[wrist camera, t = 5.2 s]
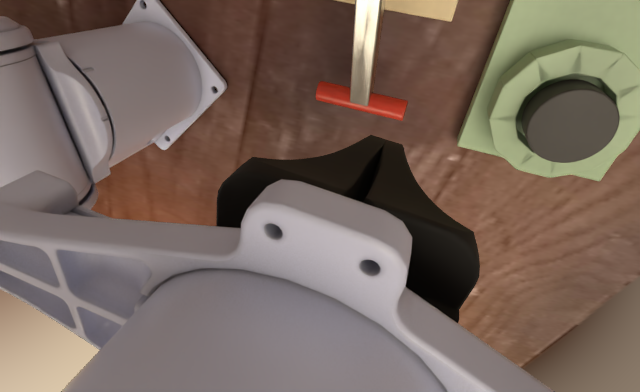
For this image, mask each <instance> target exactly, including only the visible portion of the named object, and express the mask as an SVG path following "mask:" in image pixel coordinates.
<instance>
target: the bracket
mask: <svg viewBox="0 0 640 392" xmlns="http://www.w3.org/2000/svg"><path fill="white" fill-rule="evenodd" d="M335 1H340V2H346V3H351V4H355V0H335ZM457 3H458V0H386V1H385V8H384V10H389V11H394V12H400V13H405V14H411V15H416V16H421V17H427V18H432V19H438V20H443V21H449V22H451V21H452V19H453V16H454V12H455V9H456V6H457Z"/></svg>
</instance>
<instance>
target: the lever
mask: <svg viewBox="0 0 640 392" xmlns="http://www.w3.org/2000/svg"><path fill="white" fill-rule="evenodd" d="M385 1H386V0H355V12H354V30H353V48H352V66H351V83H350V87H345V86H341V85H337V84H332V83H328V82H324V81H320V82H319V84H318V87H317V90H316V99H317V100H319V101H323V102H327V103H331V104H335V105H339V106H343V107H347V108H351V109H356V110H360V111H364V112H368V113H372V114H376V115H380V116H384V117H389V118H393V119H397V120H401V121H402V120H403V117H404V114H405V111H406V107H407V103H408V101H406V100H402V99H397V98H393V97H389V96H384V95H380V94H376V93H373V90H374V83H375V75H376V68H377V60H378V53H379V45H380V38H381V31H382V23H383V16H384V8H385Z"/></svg>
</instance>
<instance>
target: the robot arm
mask: <svg viewBox="0 0 640 392" xmlns="http://www.w3.org/2000/svg"><path fill="white" fill-rule="evenodd" d="M144 1H145V3H146V7H145V5H144ZM214 86H215V87H216V88H217V89H218V92H217V91H215V89H214ZM226 89H227V83H226V81H225V80H224V79H223V77H222V76H221V75H220V74H219V73H218V71H217V70H216V69H215V68H214V67H213V65H212V64H211V63H210V62H209V60H208V59H207V58H206V57H205V56H204V54H203V53H202V52H201V51H200V49H199V48H198V47H197V46H196V45H195V43H194V42H193V41H192V40H191V39H190V37H189V36H188V35H187V34H186V32H185V31H184V30H183V29H182V28H181V26H180V25H179V24H178V23H177V21H176V20H175V19H174V18H173V17H172V15H171V14H170V13H169V12H168V11H167V9H166V8H165V7H164V6H163V4H162V3H161V2H160V1H159V0H137V1H136V2H135V4H134V6H133V7H132V9H131V11H130V12H129V14H128V15H127V17H126V19H125V20H124V22H123V24H122V25H118V26H112V27H107V28H101V29H95V30H89V31H83V32H77V33H72V34H66V35H60V36H54V37H48V38H42V39H37V40H34V39H33V36H32V34H31V32H30V30H29V28H27V27H25V26H22V25H19V24H18V23H17V22H15V21H13V20H11V19H10V18H8V17H4V16H0V289H1V290H3V291H5V292H7V293H9V294H11V295H13V296H14V297H16V298H18V299H20V300H22V301H23V302H25V303H27V304H29V305H30V306H32V307H34V308H35V309H37V310H39V311H40V312H42V313H43V314H45V315H47V316H48V317H50V318H51V319H53V320H55V321H56V322H58V323H59V324H61V325H62V326H64V327H65V328H67V329H68V330H70V331H71V332H73V333H74V334H76V335H78V336H79V337H81V338H82V339H84V340H85V341H87V342H88V343H90V344H91V345H93V346H94V347H96V348H97V349H99V350H100V351H99V352H98V353H97V354H96V355H95V356H94V357H93V358H92V359H91V360H90V361H89V362H88V363H87V364H86V366H85V367H84V368H83V369H82V370H81V371H80V372H79V373H78V374H77V375H76V376H75V377H74V378H73V379H72V380H71V382H69V384H68V385H67V386H66V387H65V388H64V389H63V390H62V391H61V392H555V391H553V390H552V389H550V388H549V387H547V386H546V385H545V384H543V383H542V382H540V381H539V380H538V379H536V378H535V377H533V376H532V375H530V374H529V373H528V372H526V371H524V370H523V369H522V368H520V367H519V366H518V365H516V364H515V363H513V362H512V361H510V360H509V359H508V358H506V357H505V356H503V355H502V354H501V353H499V352H498V351H496V350H495V349H493V348H492V347H491V346H489V345H488V344H486V343H485V342H483V341H482V340H481V339H479V338H478V337H476V336H475V335H473V334H472V333H471V332H469V331H468V330H466V329H465V328H464V327H462V326H461V325H459V324H458V321H459V309H460V307H461V306H462V304H463V303H464V301H465V300H466V298H467V297H468V295H469V294H470V292H471V291H472V289H473V288H474V286H475V285H476V282H477V280H478V278H479V268H480V263H479V253H478V248H477V244H476V240H475V236H474V232H473V231H471V230H469V229H468V228H466V227H464V226H463V225H461V224H460V223H458V222H456V221H455V220H453V219H452V218H451V217H449V216H448V215H447V214H446V213H444V212H443V211H442V210H441V209H440V208H438V207H437V206H436V205H435V204H434V203H433V202H432V201H431V200H430V199H429V198H428V196H427V195H426V194H425V193H424V192H423V190H422V189H421V187H420V186H419V185H418V183H417V182H416V180H415V178H414V176H413V174H412V172H411V170H410V167H409V165H408V162H407V159H406V156H405V152H404V148H403V145H401V144H398V143H395V142H392V141H389V140H385V139H382V138H379V137H376V136H373V135H370V136H368V137H366V138H364V139H362V140H361V141H359V142H357V143H355V144H353V145H351V146H349V147H347V148H345V149H342V150H340V151H337V152H335V153H331V154H328V155H324V156H320V157H315V158H307V159H298V160H276V159H266V158H257V157H252V158H251V159H249V160H248V161H247V162H245V163H244V164H243V165H242V166H240V167H239V168H238V169H237V170H236V171H235V172H234V173H233V174H232V175H231V176H230V177H228V178H227V179H226V180H225V181H224V182H223V184H222V185H221V187H220V189H219V191H218V197H217V226H205V225H192V224H179V223H165V222H152V221H139V220H126V219H112V218H110V217H107V216H105V215H102V214H100V213H97V212H94V211H92V210H91V208H92V207H93V206H94V204H95V203H96V201H97V199H98V190H97V188H96V185H95V183H97V182H98V181H100V180H102V179H103V178H105V177H107V176H108V175H110V174H111V173H110V169H109V168H110V167H112V166H114V165H116V164H117V163H119V162H121V161H122V160H124V159H126V158H128V157H129V156H131V155H133V154H135V153H136V152H138V151H140V150H142V149H143V148H145V147H147V146H149V145H150V144H152V143H154V142H155V143H156V144H157V146H158V147H159V148H161V149H162V150H166V149H167V148H169V147H170V146H171V145H172V144H173V143H174V142H175V141H176V140H177V139H178V138H179V137H180V136H181V135H182V134H183V133H184V132H185V131H186V130H187V129H188V128H189V127H190V126H191V125H192V124H193V123H194V122H195V121H196V120H197V119H198V118H199V117H200V116H201V115H202V114H203V113H204V112H205V111H206V110H207V109H208V108H209V107H210V106H211V105H212V104H213V103H214V102H215V101H216V100H217V99H218V98H219V97H220V96H221V95H222V94H223V93H224V92H225V91H226ZM168 137H169V138H170V139H169V138H168Z"/></svg>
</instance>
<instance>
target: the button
mask: <svg viewBox="0 0 640 392" xmlns="http://www.w3.org/2000/svg"><path fill="white" fill-rule="evenodd" d="M619 120H620V116H619V111H618V108H617V106H616V104H615V102H614V101H613V100H612V99H611V98H610V97H609V96H608V95H606V94H605V93H604V92H603V91H602V90H601V89H599V88H598V87H597V86H596V85H594V84H592V83H590V82H587V81H584V80H577V79H570V80H563V81H558V82H555V83H552V84H550V85H548V86H546V87H544V88H543V89H541V90H540V91H538V92H537V93H536V94H535V95H534V96H533V97H532V98H531V99H530V100H529V102H528V103H527V105H526V106H525V108H524V111H523V114H522V120H521V123H522V129H523V132H524V134H525V137H526V139H527V142H528V144H529V146H530V148H531V149H532V150H533V152H534V153H536V154H537V155H538V156H540V157H541V158H543V159H546V160H548V161H552V162H558V163H570V162H576V161H580V160H583V159H586V158H589V157H591V156H593V155H595V154H596V153H598V152H599V151H601V150H602V149H603V148H604V147H606V146H607V145H608V144H609V143H610V141H611V140H612V139H613V137H614V135H615V134H616V132H617V129H618V126H619Z"/></svg>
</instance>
